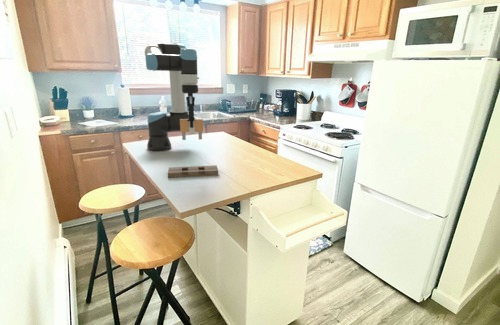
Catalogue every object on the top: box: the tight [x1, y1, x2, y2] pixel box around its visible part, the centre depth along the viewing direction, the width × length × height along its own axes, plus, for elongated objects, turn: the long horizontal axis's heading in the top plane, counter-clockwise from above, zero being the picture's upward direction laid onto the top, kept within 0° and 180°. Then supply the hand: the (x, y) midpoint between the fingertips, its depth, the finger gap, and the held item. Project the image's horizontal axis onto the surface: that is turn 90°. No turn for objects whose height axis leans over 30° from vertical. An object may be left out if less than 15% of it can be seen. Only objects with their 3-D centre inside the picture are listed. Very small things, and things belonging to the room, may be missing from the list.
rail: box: [167, 164, 219, 179], centre depth 133 cm, size 8×24×2 cm, turn 103°
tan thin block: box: [180, 118, 204, 141], centre depth 133 cm, size 3×11×10 cm, turn 103°
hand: (191, 133), depth 134 cm, fingers closed on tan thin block, 3 cm apart
